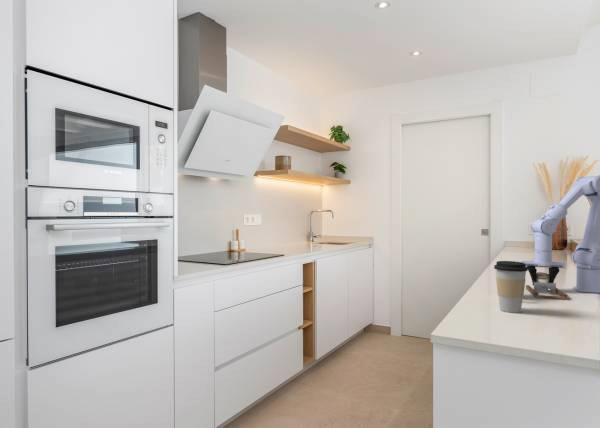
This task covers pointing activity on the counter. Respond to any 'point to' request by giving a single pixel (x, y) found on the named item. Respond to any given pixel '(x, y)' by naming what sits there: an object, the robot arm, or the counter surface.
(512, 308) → the coffee cup
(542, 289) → the pusher plate
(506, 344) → the counter surface
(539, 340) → the counter surface
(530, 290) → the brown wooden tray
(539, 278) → the jar
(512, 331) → the counter surface
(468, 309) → the counter surface
